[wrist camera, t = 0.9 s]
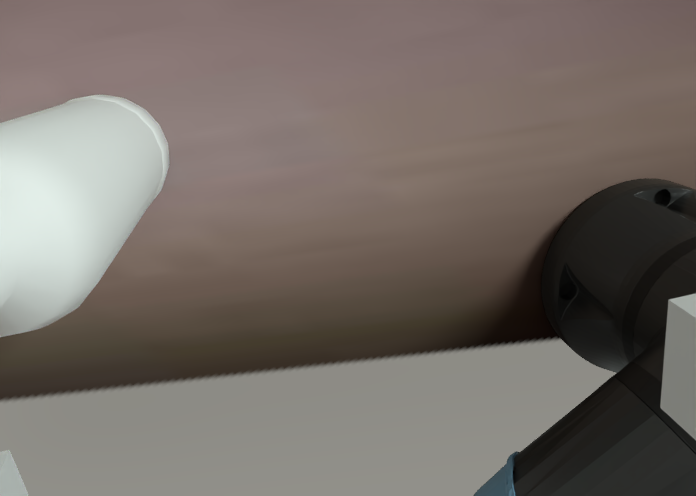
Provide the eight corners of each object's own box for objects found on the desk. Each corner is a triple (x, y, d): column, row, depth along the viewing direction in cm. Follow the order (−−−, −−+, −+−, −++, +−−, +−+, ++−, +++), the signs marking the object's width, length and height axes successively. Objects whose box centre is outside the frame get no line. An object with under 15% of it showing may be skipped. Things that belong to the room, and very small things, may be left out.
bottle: (95, 233, 44) (-192, 572, 16) (20, 133, 42) (-486, 324, 13) (194, 173, 44) (84, 410, 15) (125, 69, 41) (-160, 124, 13)
